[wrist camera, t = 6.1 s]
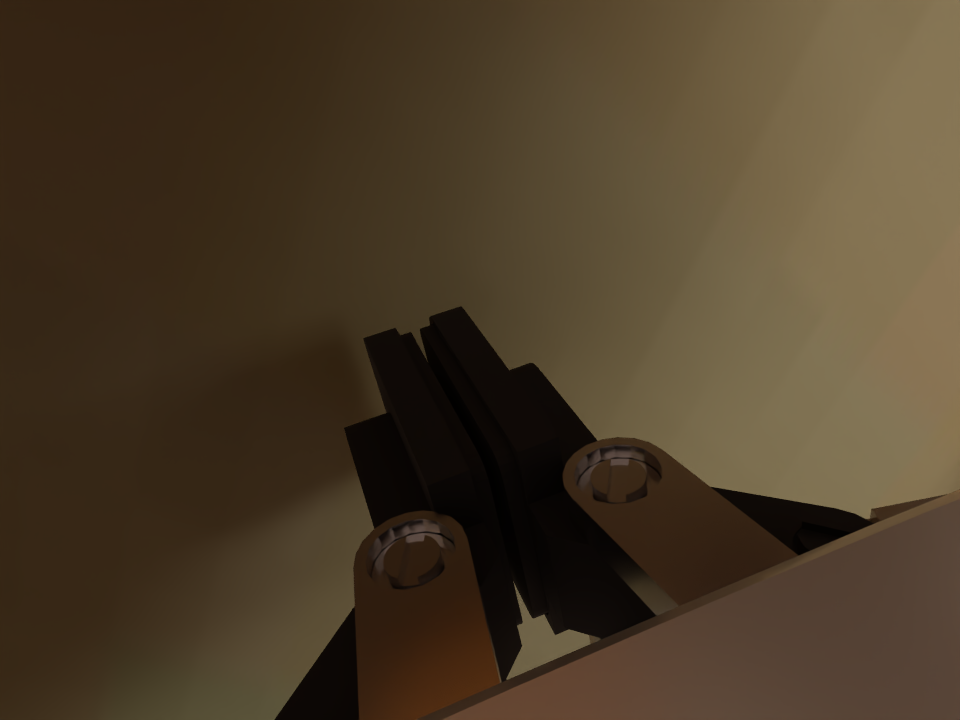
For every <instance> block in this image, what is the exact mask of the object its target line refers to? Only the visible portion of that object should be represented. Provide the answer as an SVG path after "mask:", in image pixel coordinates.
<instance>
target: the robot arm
mask: <svg viewBox="0 0 960 720" xmlns="http://www.w3.org/2000/svg"><path fill="white" fill-rule="evenodd" d="M429 320H430V326H427V327H424V328H421V329H420V333H421V338H422V341H423V345H424V349H425V353H426V356H427V360H428V362H427V360H426V358H425V356H424V355H423V353H422V351H421V349H420V347H419V346H418V344H417V342H416V340H415V338H414V337H413V335H412V333H411V332H409V333H406V334H403V335H399V333H398V331H397V329H396V328H393V329H390V330H387V331H384V332H381V333H378V334H375V335H372V336H369V337H366V338H364V342H365V346H366V349H367V352H368V356H369V359H370V362H371V365H372V368H373V371H374V374H375V378H376V381H377V384H378V387H379V390H380V393H381V397H382V400H383V403H384V406H385V409H386V412H387V413H385V414H382V415H380V416H377V417H374V418H371V419H368V420H365V421H362V422H360V423H357V424H354V425H351V426H348V427H345V428H344V430H345V433H346V437H347V440H348V443H349V447H350V450H351V453H352V456H353V460H354V463H355V466H356V470H357V473H358V476H359V480H360V483H361V486H362V489H363V493H364V496H365V499H366V503H367V506H368V509H369V512H370V516H371V519H372V522H373V526H374V530H373V531H372V532H371V533H370V534H369V535H368V536H367V537H366V538H365V539H364V540H363V541H362V543H361V545H360V547H359V549H358V551H357V552H356V555H355V561H354V567H353V572H354V598H355V607H354V608H353V609H352V611H351V612H350V614H349V615H348V616H347V618H346V619H345V621H344V622H343V624H342V625H341V626H340V628H339V629H338V631H337V632H336V633H335V635H334V636H333V638H332V639H331V640H330V642H329V643H328V645H327V646H326V648H325V649H324V650H323V652H322V653H321V655H320V656H319V657H318V659H317V660H316V662H315V663H314V665H313V666H312V667H311V669H310V670H309V672H308V673H307V674H306V676H305V677H304V679H303V680H302V682H301V683H300V684H299V686H298V687H297V689H296V690H295V691H294V693H293V694H292V696H291V697H290V699H289V700H288V701H287V703H286V704H285V706H284V707H283V708H282V710H281V711H280V713H279V714H278V716H277V717H276V718H275V720H960V490H957V491H955V492H952V493H950V494H946V495H941V496H936V497H931V498H926V499H921V500H916V501H910V502H905V503H900V504H895V505H890V506H885V507H880V508H875V509H871V515H870V519H864V518H862V517H860V516H858V515H856V514H854V513H850V512H847V511H843V510H839V509H836V508H830V507H824V506H819V505H813V504H807V503H801V502H795V501H790V500H784V499H778V498H772V497H766V496H761V495H755V494H749V493H743V492H738V491H732V490H726V489H720V488H714V487H710V486H708V485H707V484H706V483H705V482H703V481H702V480H701V479H699V478H698V477H697V476H696V475H694V474H693V473H692V472H690V471H689V470H688V469H687V468H685V467H684V466H683V465H681V464H680V463H679V462H678V461H676V460H675V459H674V458H672V457H671V456H670V455H669V454H667V453H666V452H665V451H663V450H662V449H660V448H659V447H657V446H655V445H653V444H652V443H650V442H647V441H643V440H639V439H636V438H623V437H616V438H609V439H602V440H599V441H597V440H596V438H595V437H594V436H593V435H592V433H591V432H590V431H589V430H588V429H587V427H586V426H585V425H584V424H583V422H582V421H581V420H580V419H579V417H578V416H577V415H576V414H575V413H574V411H573V410H572V409H571V408H570V406H569V405H568V404H567V403H566V402H565V400H564V399H563V398H562V397H561V395H560V394H559V393H558V392H557V390H556V389H555V388H554V387H553V386H552V384H551V383H550V382H549V381H548V379H547V378H546V377H545V376H544V375H543V373H542V372H541V371H540V370H539V368H538V367H537V366H536V365H535V364H534V363H529V364H526V365H523V366H520V367H517V368H514V369H512V370H508V368H507V367H506V365H505V364H504V363H503V361H502V360H501V359H500V357H499V356H498V355H497V353H496V352H495V351H494V349H493V348H492V347H491V345H490V344H489V343H488V341H487V340H486V338H485V337H484V336H483V334H482V333H481V332H480V330H479V329H478V328H477V326H476V325H475V324H474V322H473V321H472V320H471V318H470V317H469V316H468V314H467V313H466V311H465V310H464V309H463V308H462V307H457V308H454V309H451V310H448V311H445V312H442V313H439V314H436V315H433V316H430V317H429ZM513 581H514V583H515V585H516V587H517V589H518V591H519V593H520V595H521V597H522V599H523V601H524V603H525V605H526V607H527V609H528V611H529V613H530V615H531V617H532V618H536V617H538V616H541V615H543V614H545V616H546V618H547V620H548V622H549V624H550V626H551V628H552V630H553V632H554V634H555V635H556V634H559V633H561V632H563V631H566V630H568V629H570V630H574V631H577V632H581V633H584V634H588V635H589V637H590V643H591V644H590V645H588V646H585V647H583V648H581V649H578V650H576V651H574V652H571V653H569V654H567V655H564V656H562V657H560V658H557V659H555V660H553V661H550V662H548V663H546V664H543V665H541V666H539V667H536V668H534V669H532V670H529V671H527V672H525V673H522V674H520V675H518V676H515V677H513V678H511V679H509V680H506V678H507V676H508V674H509V672H510V670H511V668H512V666H513V664H514V661H515V659H516V657H517V655H518V653H519V651H520V649H521V647H522V644H521V640H520V636H519V632H518V628H517V625H519V624H522V622H523V621H522V616H521V612H520V608H519V604H518V600H517V596H516V591H515V587H514V583H513Z"/></svg>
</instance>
